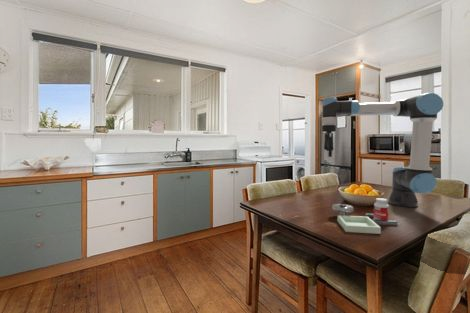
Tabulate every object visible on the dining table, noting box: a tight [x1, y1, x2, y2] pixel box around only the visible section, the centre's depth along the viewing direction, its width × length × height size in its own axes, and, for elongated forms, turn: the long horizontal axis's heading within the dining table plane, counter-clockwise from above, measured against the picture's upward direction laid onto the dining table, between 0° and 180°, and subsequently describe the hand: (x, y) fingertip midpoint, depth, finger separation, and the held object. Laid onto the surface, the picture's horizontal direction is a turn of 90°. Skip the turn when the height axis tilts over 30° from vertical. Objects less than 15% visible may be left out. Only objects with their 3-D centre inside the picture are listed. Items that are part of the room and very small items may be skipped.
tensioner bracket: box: [364, 213, 399, 227], centre depth 117 cm, size 10×11×2 cm
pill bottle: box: [372, 197, 390, 220], centre depth 116 cm, size 6×6×11 cm
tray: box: [336, 214, 382, 235], centre depth 109 cm, size 14×14×3 cm
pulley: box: [331, 203, 354, 216], centre depth 122 cm, size 10×10×6 cm
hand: (327, 161), depth 138 cm, fingers open, 13 cm apart
